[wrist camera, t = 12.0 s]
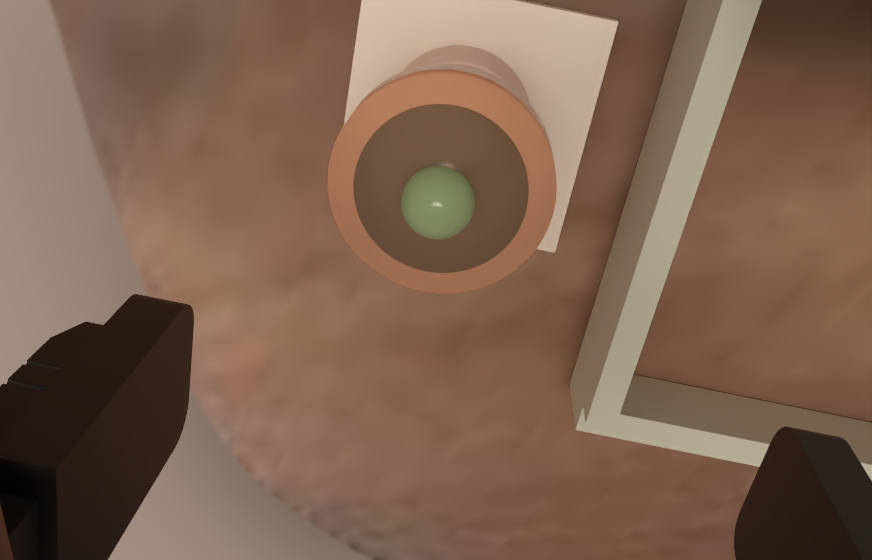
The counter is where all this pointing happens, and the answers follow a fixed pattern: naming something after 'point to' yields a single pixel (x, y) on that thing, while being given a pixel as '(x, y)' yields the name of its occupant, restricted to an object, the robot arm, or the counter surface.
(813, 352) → the counter surface
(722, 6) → the cold frame
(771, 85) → the counter surface
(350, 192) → the clay pot
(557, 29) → the tile
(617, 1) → the counter surface
